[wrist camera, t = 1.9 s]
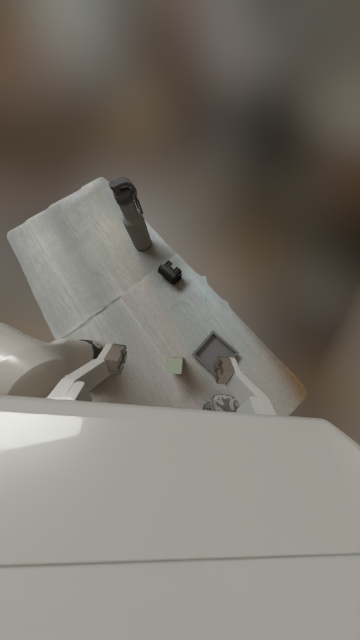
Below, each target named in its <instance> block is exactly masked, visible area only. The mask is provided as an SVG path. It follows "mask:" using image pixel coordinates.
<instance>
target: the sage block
mask: <svg viewBox="0 0 360 640" xmlns="http://www.w3.org/2000/svg"><path fill="white" fill-rule="evenodd" d="M183 359H184V358H180V357H168V364H167V373H174V374H182V370H183Z"/></svg>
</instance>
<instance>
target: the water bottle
mask: <svg viewBox="0 0 360 640" xmlns="http://www.w3.org/2000/svg"><path fill="white" fill-rule="evenodd" d="M109 186H110V188H111V190H113V195H114V197H115V199H116V201H117V204H118V205H119V206H120V209H121V211H122V213H123V215H124V217H123V223H124V225H125V228H126V230H127V232H128V234H129V236H130V238H131V240H132V242H133V244H134V246H135V247H136V248H137V249H138V250H146V249H148V248H149V247H150V245H151V239H150V236H149V233H148V230H147V227H146V224H145V221H144V218H143V215H142V214H143V212H142V208H141V205H140V202H139V200H138V199H137V191H136V188H135V187H134V185H133V184H132V182H131V181H130V180H129V179H127V178H125V177H120V178H118V179H115V180H113V181H111V182H110V183H109ZM129 187H130V188H131V189H130V188H129ZM133 194H134V195H133ZM133 197H134V198H133ZM134 200H135V202H134ZM137 202H138V204H137ZM135 203H136V205H137V208H138V209H139V211H140V212H141V213H140V212H139V211H137V208H136V205H135ZM138 205H139V206H138ZM139 207H140V208H139Z"/></svg>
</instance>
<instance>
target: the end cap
mask: <svg viewBox="0 0 360 640" xmlns="http://www.w3.org/2000/svg"><path fill="white" fill-rule="evenodd" d="M171 265H172V263H171V262H170V261H169V260H168V261H167V262H166V263H165V264H164V265H162V264H161V265H160V266H159V269H158V272H159V273H160V274H161V275H162V276H163V277H165V278H166V279H167V280H168V281H169V282H171V283H172V284H176V283H177V282H178V281H179V280H180V279H181V276H182V274H181V273H182V272H181V270H180V269H179V268H178V267H176V268H175V269H173V268H172V267H170V266H171Z"/></svg>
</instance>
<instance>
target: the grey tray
mask: <svg viewBox="0 0 360 640" xmlns="http://www.w3.org/2000/svg"><path fill="white" fill-rule="evenodd" d="M238 353H239V352H237V351H236V350H235V349H234V348H233V347H231V346H230V345H229V344H228V343H227V342H226V341H224V340H223V339H222V338H221V337H220V336H219V335H217V334H216V333H215V332H214V331H212V332H211V334H210V335H209V336H208V337H207V338H206V339H205V340H204V341H203V343H202V344H201V345H200V346H199V347H198V348H197V349H196V351H195V352H194V353H193V354H192V355H193V356H195V357H196V358H197V359H198V360H199V361H200V362H201V363H202V364H203V365H204V366H205V367H206V368H207V369H208V370H209V371H210V372H212V373H213V374H214V375H215V376H216V373H215V372H214V369H213V365H214V362H215V361H217V359H216V358H217V357H218V356H224V357H232V358H235V357H236V355H237V354H238Z"/></svg>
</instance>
